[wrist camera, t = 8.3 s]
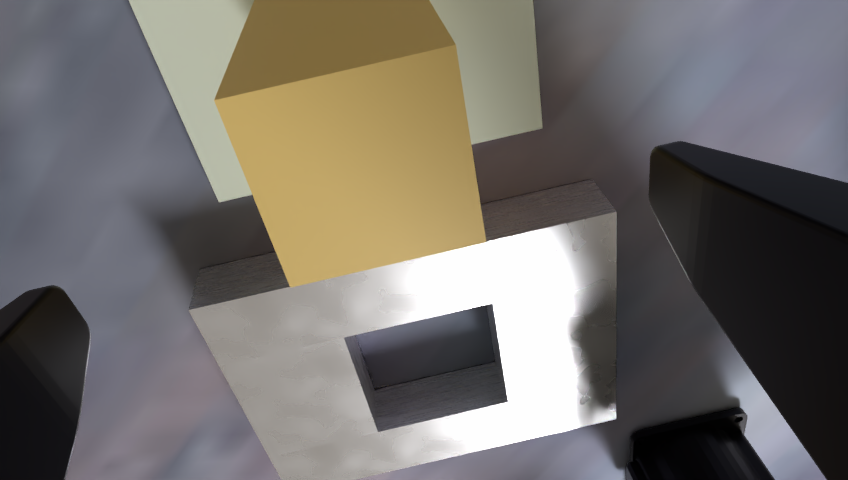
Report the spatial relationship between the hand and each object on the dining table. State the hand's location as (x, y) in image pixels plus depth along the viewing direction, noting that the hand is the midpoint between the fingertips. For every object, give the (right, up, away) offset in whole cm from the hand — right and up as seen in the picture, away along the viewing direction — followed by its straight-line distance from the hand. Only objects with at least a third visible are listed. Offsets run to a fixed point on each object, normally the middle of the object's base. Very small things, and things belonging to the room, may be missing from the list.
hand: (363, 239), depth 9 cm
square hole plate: (+1, -4, +18) cm, 19 cm away
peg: (-2, +7, +10) cm, 12 cm away
